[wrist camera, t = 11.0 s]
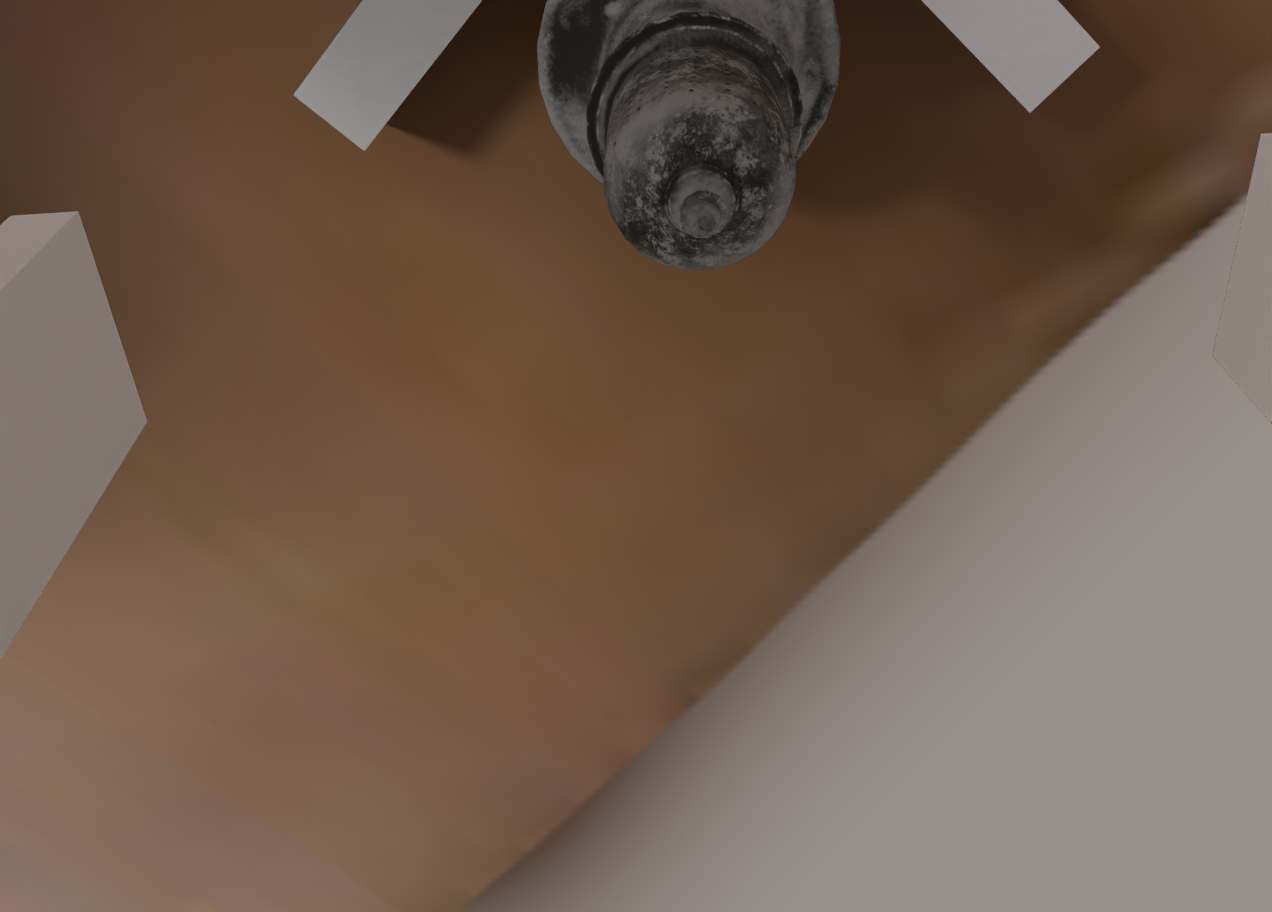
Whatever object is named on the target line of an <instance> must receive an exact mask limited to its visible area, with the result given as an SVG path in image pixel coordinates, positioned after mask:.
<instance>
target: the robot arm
mask: <svg viewBox="0 0 1272 912" xmlns="http://www.w3.org/2000/svg"><path fill="white" fill-rule="evenodd" d="M1212 356H1213V357H1214V358H1215V359H1216V360H1217V362H1218V363H1219V364H1220V365H1221V366H1222V367H1223V368H1224V369H1225V371H1226V372H1227V373H1228V374H1229V375H1230V376H1231V378H1232V379H1233V380H1234V381H1235V382H1236V383H1237V384H1238V386H1239V387H1240V388H1241V389H1242V390H1243V391H1244V392H1245V393H1246V395H1247V396H1248V397H1249V398H1250V399H1251V400H1252V402H1253V403H1254V404H1255V405H1256V406H1257V407H1258V408H1259V409H1260V411H1261V412H1262V413H1263V414H1264V415H1265V416H1266V417H1267V419H1268V420H1269V421H1270V422H1271V423H1272V133H1264V134H1261V137H1260V141H1259V146H1258V150H1257V155H1256V159H1255V164H1254V168H1253V173H1252V177H1251V182H1250V186H1249V191H1248V195H1247V200H1246V204H1245V209H1244V214H1243V218H1242V223H1241V227H1240V231H1239V236H1238V240H1237V245H1236V250H1235V254H1234V259H1233V263H1232V268H1231V273H1230V277H1229V281H1228V286H1227V290H1226V295H1225V299H1224V304H1223V309H1222V313H1221V317H1220V322H1219V326H1218V331H1217V336H1216V340H1215V344H1214V349H1213V353H1212ZM146 423H147V419H146V416H145V413H144V410H143V407H142V404H141V401H140V398H139V395H138V392H137V389H136V386H135V383H134V380H133V377H132V374H131V371H130V368H129V365H128V362H127V358H126V355H125V352H124V349H123V346H122V343H121V340H120V337H119V334H118V331H117V328H116V325H115V322H114V319H113V316H112V313H111V310H110V307H109V304H108V301H107V297H106V294H105V291H104V288H103V285H102V282H101V279H100V276H99V273H98V270H97V267H96V264H95V261H94V258H93V255H92V252H91V249H90V246H89V243H88V240H87V237H86V233H85V230H84V227H83V224H82V221H81V218H80V215H79V212H78V211H75V212H60V213H45V214H29V215H14V216H10V217H9V218H8V219H6V220H5V221H4V222H3V223H2V224H1V225H0V659H1V657H2V656H3V654H4V653H5V651H6V649H7V648H8V646H9V645H10V643H11V641H12V640H13V638H14V636H15V635H16V633H17V632H18V630H19V628H20V627H21V625H22V624H23V622H24V620H25V619H26V617H27V615H28V614H29V612H30V611H31V609H32V607H33V606H34V604H35V602H36V601H37V599H38V598H39V596H40V594H41V593H42V591H43V590H44V588H45V586H46V585H47V583H48V581H49V580H50V578H51V577H52V575H53V573H54V572H55V570H56V568H57V567H58V565H59V564H60V562H61V560H62V559H63V557H64V556H65V554H66V552H67V551H68V549H69V547H70V546H71V544H72V543H73V541H74V539H75V538H76V536H77V534H78V533H79V531H80V530H81V528H82V526H83V525H84V523H85V522H86V520H87V518H88V517H89V515H90V513H91V512H92V510H93V509H94V507H95V505H96V504H97V502H98V501H99V499H100V497H101V496H102V494H103V492H104V491H105V489H106V488H107V486H108V484H109V483H110V481H111V479H112V478H113V476H114V475H115V473H116V471H117V470H118V468H119V467H120V465H121V463H122V462H123V460H124V458H125V457H126V455H127V454H128V452H129V450H130V449H131V447H132V445H133V444H134V442H135V441H136V439H137V437H138V436H139V434H140V433H141V431H142V429H143V428H144V426H145V424H146Z"/></svg>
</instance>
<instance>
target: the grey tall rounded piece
mask: <svg viewBox="0 0 1272 912" xmlns="http://www.w3.org/2000/svg"><path fill="white" fill-rule="evenodd" d="M840 53H841V38H840V33H839V27H838V22H837V17H836V11H835V6H834V2H833V0H547V2H546V5H545V9H544V14H543V19H542V24H541V29H540V33H539V38H538V43H537V54H538V73H539V87H540V90H541V93H542V96H543V99H544V102H545V105H546V109H547V112H548V115H549V118H550V121H551V124H552V125H553V127H554V129H555V130H556V132H557V133H558V135H559V136H560V138H561V140H562V141H563V143H564V144H565V146H566V147H567V149H568V151H569V152H570V154H571V155H572V157H574V158H575V159H576V160H577V161H578V162H579V163H580V164H581V165H582V166H583V167H584V168H585V169H586V170H587V171H589V172H590V173H591V174H592V175H593V176H594V177H595V178H596V179H597V180H598V181H599V182H601V183H603V184H604V195H605V198H606V201H607V204H608V208H609V211H610V214H611V216H612V218H613V220H614V221H615V223H616V224H617V226H618V228H619V229H620V231H621V232H622V234H623V235H624V237H625V239H626V240H627V241H628V242H629V243H631V244H632V245H633V246H634V247H635V248H636V249H637V250H638V251H639V252H640V253H642V254H643V255H644V256H646V257H648V258H650V259H652V260H654V261H656V262H658V263H660V264H662V265H665V266H669V267H673V268H678V269H682V270H712V269H716V268H720V267H724V266H728V265H731V264H734V263H736V262H738V261H740V260H742V259H743V258H745V257H747V256H749V255H751V254H753V253H754V252H756V251H757V250H758V249H759V248H760V247H761V246H762V245H763V244H765V243H766V242H767V241H768V240H769V239H770V238H771V237H772V236H773V234H774V233H775V232H776V230H777V229H778V227H779V226H780V224H781V223H782V221H783V220H784V218H785V216H786V213H787V211H788V208H789V205H790V202H791V199H792V196H793V194H794V191H795V183H796V169H797V164H796V161H797V160H798V159H799V158H800V157H801V156H802V155H803V154H804V153H805V152H806V150H807V148H808V147H809V145H810V144H811V142H812V141H813V139H814V138H815V136H816V135H817V133H818V132H819V130H820V129H821V127H822V125H823V124H824V122H825V121H826V118H827V115H828V112H829V109H830V106H831V103H832V100H833V97H834V94H835V91H836V88H837V85H838V80H839V67H840Z"/></svg>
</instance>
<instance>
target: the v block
mask: <svg viewBox="0 0 1272 912" xmlns="http://www.w3.org/2000/svg"><path fill="white" fill-rule="evenodd" d="M481 1H482V0H362V2H361V3H360V4H359V6H358V7H357V8H356V10H355V11H354V13H353V14H352V15H351V17H350V18H349V19H348V21H347V22H346V24H345V25H344V26H343V28H342V29H341V30H340V32H339V33H338V35H337V36H336V37H335V39H334V40H333V41H332V43H331V44H330V45H329V47H328V48H327V50H326V51H325V52H324V54H323V55H322V56H321V58H320V59H319V61H318V62H317V63H316V65H315V66H314V67H313V69H312V70H311V72H310V73H309V74H308V76H307V77H306V78H305V80H304V81H303V82H302V84H301V85H300V87H299V88H298V89H297V91H296V92H295V93H294V96H295V97H296V98H298V99H299V100H300V101H301V102H303V103H304V104H305V105H306V106H308V107H309V108H310V109H312V110H313V111H314V112H315V113H317V114H318V115H319V116H320V117H322V118H323V119H324V120H325V121H327V122H328V123H329V124H331V125H332V126H333V127H334V128H336V129H337V130H338V131H339V132H341V133H342V134H343V135H344V136H346V137H347V138H348V139H350V140H351V141H352V142H353V143H355V144H356V145H357V146H358V147H360V148H361V149H362V150H363V151H365V150H366V149H367V147H368V146H369V145H370V143H371V142H372V141H373V140H374V138H375V137H376V136H377V134H378V133H379V132H380V131H381V129H382V128H383V127H384V125H385V124H386V123H387V122H388V120H389V119H390V118H391V116H392V115H393V114H394V113H395V111H396V110H397V109H398V108H399V106H400V105H401V104H402V102H403V101H404V100H405V99H406V97H407V96H408V95H409V93H410V92H411V91H412V90H413V88H414V87H415V86H416V84H417V83H418V82H419V81H420V79H421V78H422V77H423V76H424V74H425V73H426V72H427V70H428V69H429V68H430V67H431V65H432V64H433V63H434V61H435V60H436V59H437V58H438V56H439V55H440V54H441V52H442V51H443V50H444V49H445V47H446V46H447V45H448V43H449V42H450V41H451V40H452V38H453V37H454V36H455V35H456V33H457V32H458V31H459V29H460V28H461V27H462V26H463V24H464V23H465V22H466V20H467V19H468V18H469V17H470V15H471V14H472V13H473V11H474V10H475V9H476V8H477V6H478V5H479V4H480V2H481ZM922 1H923V2H924V4H925V5H926V6H927V7H928V8H929V9H930V10H931V11H932V12H933V13H934V14H935V15H936V16H937V17H938V18H939V19H940V20H941V21H942V22H943V23H944V24H945V25H946V26H947V27H948V28H949V30H950V31H951V32H952V33H953V34H954V35H955V36H956V37H957V38H958V39H959V40H960V41H961V42H962V43H963V44H964V45H965V46H966V47H967V48H968V49H969V50H970V51H971V52H972V53H973V54H974V55H975V57H976V58H977V59H978V60H979V61H980V62H981V63H982V64H983V65H984V66H985V67H986V68H987V69H988V70H989V71H990V72H991V73H992V74H993V75H994V76H995V77H996V78H997V79H998V80H999V81H1000V83H1001V84H1002V85H1003V86H1004V87H1005V88H1006V89H1007V90H1008V91H1009V92H1010V93H1011V94H1012V95H1013V96H1014V97H1015V98H1016V99H1017V100H1018V101H1019V102H1020V103H1021V104H1022V105H1023V106H1024V107H1025V108H1026V110H1027V111H1028V112H1029V113H1031V112H1032V111H1033V110H1034V109H1035V108H1036V107H1037V106H1038V105H1039V104H1040V103H1041V102H1042V101H1043V100H1044V99H1045V98H1046V97H1048V96H1049V95H1050V94H1051V93H1052V92H1053V91H1054V90H1055V89H1056V88H1057V87H1058V86H1059V85H1060V84H1061V83H1062V82H1064V81H1065V80H1066V79H1067V78H1068V77H1069V76H1070V75H1071V74H1072V73H1073V72H1074V71H1075V70H1076V69H1077V68H1078V67H1079V66H1081V65H1082V64H1083V63H1084V62H1085V61H1086V60H1087V59H1088V58H1089V57H1090V56H1091V55H1092V54H1093V53H1094V52H1095V51H1097V50H1098V49H1099V48H1100V46H1099V45H1098V44H1097V43H1096V42H1095V41H1094V40H1093V39H1092V38H1091V36H1090V35H1089V34H1088V33H1087V32H1086V31H1085V30H1084V29H1083V28H1082V27H1081V25H1080V24H1079V23H1078V22H1077V21H1076V20H1075V19H1074V18H1073V17H1072V16H1071V14H1070V13H1069V12H1068V11H1067V10H1066V9H1065V8H1064V7H1063V6H1062V5H1061V3H1060V2H1059V1H1058V0H922Z"/></svg>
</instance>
